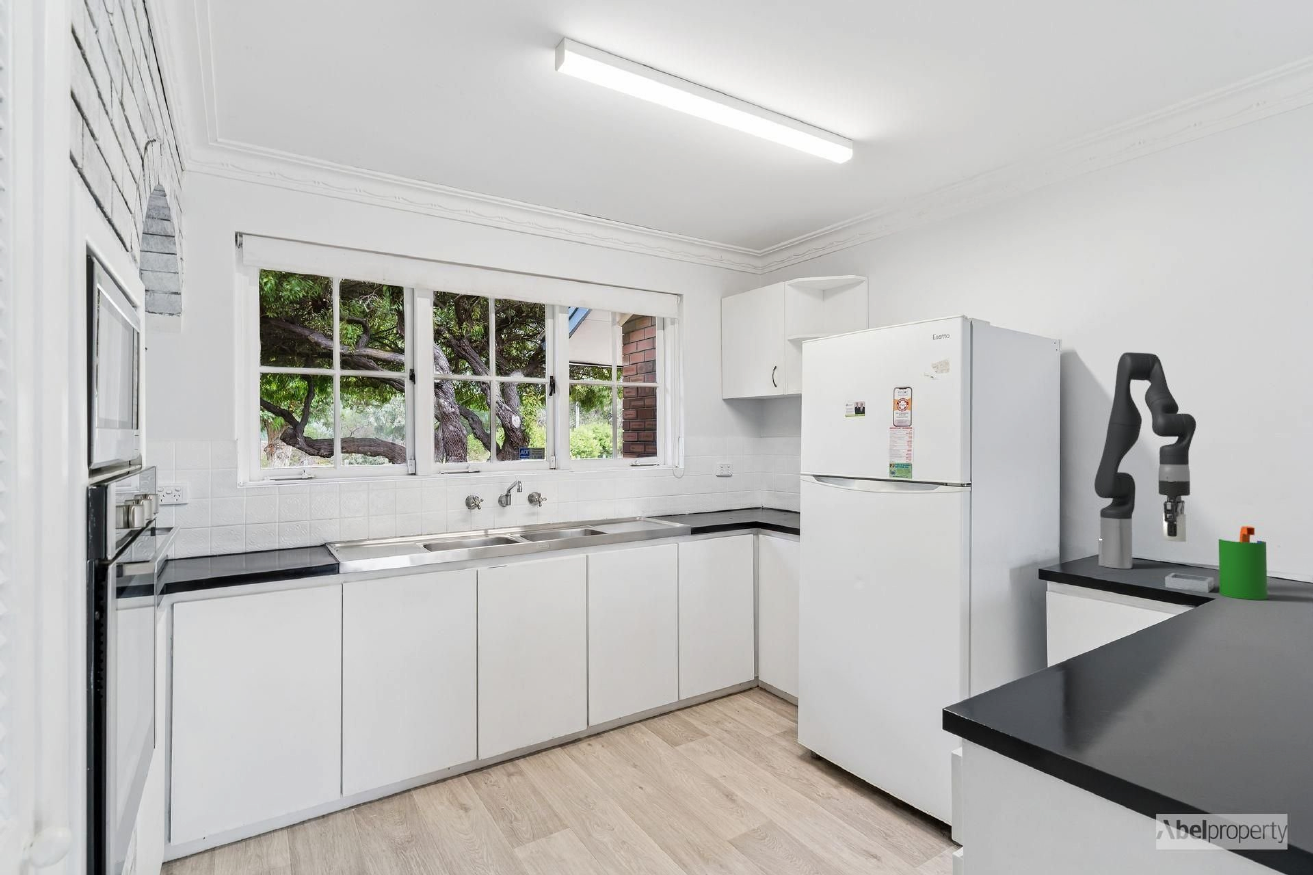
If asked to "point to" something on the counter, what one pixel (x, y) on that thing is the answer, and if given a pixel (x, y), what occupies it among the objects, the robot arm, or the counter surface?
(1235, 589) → the green cylindrical container
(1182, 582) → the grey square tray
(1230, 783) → the counter surface
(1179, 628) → the counter surface
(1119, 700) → the counter surface
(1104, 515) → the robot arm
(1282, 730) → the counter surface
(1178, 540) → the white cylinder
